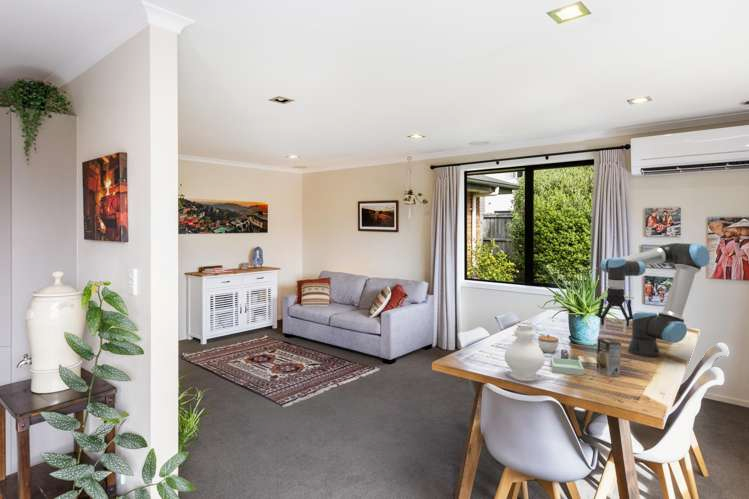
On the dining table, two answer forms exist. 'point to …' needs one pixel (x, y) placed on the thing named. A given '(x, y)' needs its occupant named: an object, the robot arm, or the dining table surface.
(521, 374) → the decorative vase
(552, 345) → the lidded jar
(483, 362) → the dining table surface
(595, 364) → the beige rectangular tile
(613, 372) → the coffee box
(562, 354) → the bench dogs
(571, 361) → the tray
